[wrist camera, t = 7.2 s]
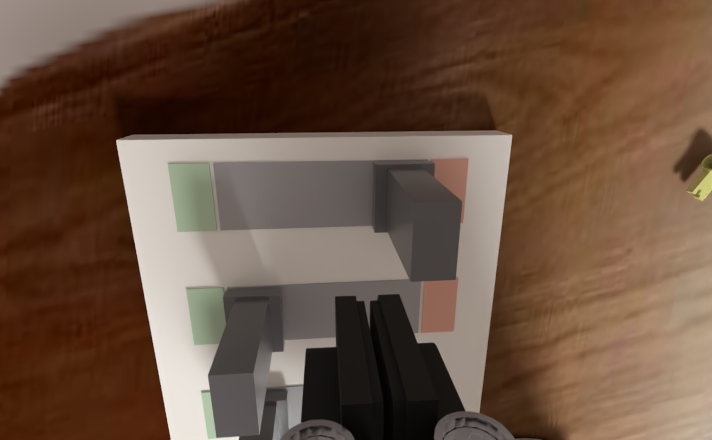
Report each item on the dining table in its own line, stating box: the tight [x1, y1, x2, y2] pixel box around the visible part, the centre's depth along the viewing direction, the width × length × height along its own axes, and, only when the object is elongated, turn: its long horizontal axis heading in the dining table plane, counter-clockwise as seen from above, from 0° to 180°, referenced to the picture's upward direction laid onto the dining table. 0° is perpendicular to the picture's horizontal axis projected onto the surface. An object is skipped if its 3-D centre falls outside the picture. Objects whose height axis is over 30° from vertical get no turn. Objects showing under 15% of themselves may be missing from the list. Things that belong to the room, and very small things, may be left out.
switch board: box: [116, 130, 512, 440], centre depth 26 cm, size 20×20×2 cm
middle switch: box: [208, 288, 285, 438], centre depth 21 cm, size 3×4×7 cm
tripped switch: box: [373, 161, 462, 282], centre depth 19 cm, size 3×4×7 cm
